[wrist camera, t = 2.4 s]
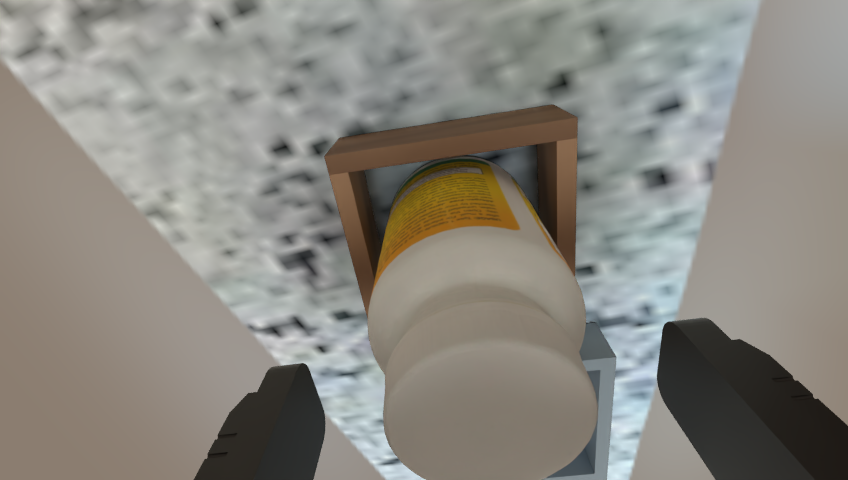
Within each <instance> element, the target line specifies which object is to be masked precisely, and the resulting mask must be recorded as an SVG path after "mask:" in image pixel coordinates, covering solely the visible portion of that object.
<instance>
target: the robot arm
mask: <svg viewBox="0 0 848 480" xmlns="http://www.w3.org/2000/svg"><path fill="white" fill-rule="evenodd" d="M657 381H658V387H659V390H660V393H661V396H662V398H663V401H664V402H665V404H666V406H667V407H668V409H669V410H670V412H671V413H672V415H673V416H674V418H675V419H676V421H677V422H678V424H679V425H680V427H681V428H682V430H683V431H684V433H685V434H686V436H687V437H688V439H689V440H690V442H691V443H692V445H693V446H694V448H695V449H696V451H697V452H698V454H699V455H700V457H701V458H702V460H703V461H704V463H705V464H706V466H707V467H708V469H709V470H710V472H711V473H712V475H713V476H714V478H715V479H716V480H848V426H847V425H846V424H845V423H844V422H843V421H842V420H841V419H840V418H839V417H837V416H836V415H835V414H834V413H833V412H832V411H831V410H830V409H829V408H828V407H826V406H825V405H824V404H823V403H822V402H821V401H820V400H819V399H814V398H813V394H812V393H811V392H810V391H808V389H806V388H805V387H804V386H803V385H802V384H801V383H800V382H799V381H795V380H794V379H793V376H792V375H791V374H790V373H789V372H788V371H787V370H785V369H784V368H783V367H782V366H781V365H780V364H779V363H778V362H777V361H775V360H774V359H773V358H772V357H771V356H770V355H768V354H766V353H764V352H763V351H761V350H759V349H757V348H755V347H753V346H752V345H750V344H748V343H746V342H744V341H742V340H740V339H738V340H731V339H730V338H729V337H728V336H727V335H726V334H725V333H724V332H723V331H722V330H721V329H719V327H718V326H716V325H715V324H714V323H713V322H712V321H711V320H709V319H707V318H698V319H690V320H680V321H672V322H667V323H666V324H665V325H664V327H663V332H662V340H661V348H660V356H659V364H658V372H657ZM324 434H325V414H324V410H323V407H322V404H321V401H320V398H319V396H318V393H317V390H316V387H315V385H314V382H313V379H312V376H311V373H310V371H309V368H308V366H307V365H306V364H304V363H301V364H293V365H284V366H276V367H271V368H270V369H269V370H268V371H267V373H266V375H265V378H264V379H263V381H262V383H261V385H260V387H259V389H258V392H254V393H248V394H247V395H246V396H245V397H244V398H243V399H242V400H241V402H239V404H238V405H237V406H236V407H235V408H234V409H233V410H232V411H231V412H230V413H229V415H228V417H227V419H226V421H225V423H224V424H223V426H222V428H221V430H220V432H219V434H218V439H217V440H215V441H214V443H213V445H212V447H211V448H210V450H209V452H208V458H207V459H205V460H204V462H203V464H202V465H201V467H200V469H199V471H198V473H197V475H196V477H195V479H194V480H313V479H314V475H315V471H316V467H317V463H318V459H319V456H320V452H321V448H322V444H323V440H324Z"/></svg>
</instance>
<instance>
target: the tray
mask: <svg viewBox="0 0 848 480" xmlns="http://www.w3.org/2000/svg"><path fill="white" fill-rule="evenodd" d="M579 353H580V356H581V360H582V362H583V364H584V366H585V369H586V371H587V373H588V375H589V377H590V380H591V382H592V384H593V387H594V390H595V393H596V398H597V403H598V419H597V423H596V427H595V429H594V432H593V434H592V437H591V439H590V441H589V442H588V444H587V445H586V447H585V448H584V449H583V451H582V452H581V453H580V454H579V455H578V456H577V457H576V458H575V459H574V460H573V461H572V462H571V463H569V464H568V465H567V466H565V467H564V468H562V469H560V470H559V471H557V472H555V473H554V474H552V475H550V476H548V477H546V478H544V479H542V480H607V470H608V457H609V445H610V432H611V419H612V406H613V394H614V381H615V368H616V356H615V354H614V352H613V351H612V349H611V347H610V346H609V344H608V342H607V340H606V339H605V337H604V335H603V334H602V332H601V330H600V329H599V327H598V325H597V324H596V323H587V324H586V327H585V334H584V338H583V342H582V345H581V348H580V351H579Z"/></svg>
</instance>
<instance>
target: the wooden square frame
mask: <svg viewBox="0 0 848 480" xmlns="http://www.w3.org/2000/svg"><path fill="white" fill-rule="evenodd" d="M577 120H578V118H577V117H575V116H574V115H572V114H570V113H568V112H566V111H564V110H562V109H561V108H559V107H557V106H555V105H547V106H541V107H535V108H528V109H522V110H515V111H509V112H502V113H496V114H490V115H483V116H477V117H470V118H464V119H458V120H451V121H445V122H438V123H432V124H425V125H419V126H413V127H406V128H400V129H393V130H387V131H381V132H374V133H368V134H361V135H355V136H349V137H342V138H339V139H338V140H337V142H336V143H335V144H334V145H333V147H332V148H331V149H330V150H329V151H328V153H327V154H326V155H325V156H324V157H325V161H326V165H327V168H328V172H329V176H330V180H331V183H332V187H333V191H334V195H335V198H336V202H337V206H338V210H339V213H340V217H341V221H342V225H343V228H344V232H345V236H346V240H347V243H348V247H349V251H350V254H351V258H352V262H353V266H354V269H355V273H356V277H357V281H358V284H359V288H360V292H361V296H362V299H363V303H364V307H365V311H366V314H367V318H368V311H369V305H370V300H371V295H372V291H373V286H374V281H375V277H376V272H377V268H378V263H379V258H380V254H381V249H382V248H381V244H380V239H379V235H378V231H377V226H376V222H375V217H374V213H373V208H372V204H371V200H370V195H369V191H368V186H367V182H366V178H365V173H364V170H367V169H374V168H381V167H387V166H394V165H401V164H408V163H414V162H421V161H428V160H434V159H441V158H448V157H454V156H461V155H468V154H474V153H481V152H488V151H494V150H501V149H508V148H515V147H521V146H528V145H535V144H537V165H538V201H539V218H540V220H541V222H542V223H543V225H544V227H545V228H546V230H547V231H548V233H549V234H550V236H551V238H552V239H553V241H554V243H555V244H556V246H557V248H558V249H559V251H560V253H561V254H562V256H563V258H564V259H565V261H566V262H567V264H568V266H569V267H570V269H571V271H572V273H573V275H574V277H575V242H576V181H577Z"/></svg>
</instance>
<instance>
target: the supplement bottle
mask: <svg viewBox="0 0 848 480" xmlns="http://www.w3.org/2000/svg"><path fill="white" fill-rule="evenodd" d="M585 327H586V313H585V304H584V300H583V296H582V293H581V289H580V287H579V285H578V283H577V280H576V279H575V277H574V275H573V273H572V271H571V269H570V267H569V266H568V264H567V262H566V261H565V259H564V258H563V256H562V254H561V253H560V251H559V249H558V248H557V246H556V244H555V243H554V241H553V239H552V238H551V236H550V234H549V233H548V231H547V230H546V228H545V227H544V225H543V223H542V222H541V220H540V218H539V217H538V215H537V213H536V212H535V210H534V208H533V206H532V204H531V203H530V201H529V200H528V198H527V197H526V195H525V193H524V192H523V190H522V189H521V187H520V186H519V185H518V183H517V182H516V181H515V179H514V178H513V177H512V176H511V175H510V174H509V173H508V172H506V171H505V170H504V169H502V168H501V167H499V166H498V165H496V164H494V163H492V162H489V161H487V160H484V159H481V158H477V157H470V156H459V157H450V158H444V159H440V160H437V161H434V162H431V163H429V164H427V165H425V166H423V167H421V168H420V169H418V170H417V171H415V172H414V173H413V174H412V175H411V176H410V177H408V178H407V180H406V181H405V182H404V183H403V184H402V185H401V187H400V189H399V190H398V192H397V194H396V196H395V197H394V200H393V203H392V206H391V209H390V213H389V218H388V222H387V226H386V230H385V235H384V240H383V245H382V249H381V254H380V258H379V263H378V268H377V272H376V277H375V281H374V286H373V291H372V295H371V300H370V305H369V311H368V334H369V341H370V345H371V348H372V351H373V354H374V356H375V358H376V361H377V363H378V364H379V366H380V368H381V370H382V371H383V372H384V374H385V398H384V411H383V419H384V430H385V435H386V438H387V440H388V443H389V445H390V447H391V449H392V450H393V452H394V454H395V455H396V456H397V457H398V458H399V460H400V461H401V462H402V463H403V464H404V465H405V466H406V467H408V468H409V469H410V470H411V471H413V472H414V473H416V474H417V475H419V476H420V477H422V478H424V479H426V480H542V479H544V478H546V477H548V476H550V475H552V474H554V473H555V472H557V471H559V470H560V469H562V468H564V467H565V466H567V465H568V464H569V463H571V462H572V461H573V460H574V459H575V458H576V457H577V456H578V455H579V454H580V453H581V452H582V451H583V449H584V448H585V447H586V445H587V444H588V442H589V441H590V439H591V437H592V434H593V432H594V429H595V427H596V423H597V419H598V403H597V398H596V393H595V390H594V387H593V384H592V382H591V380H590V377H589V375H588V373H587V371H586V369H585V366H584V364H583V362H582V360H581V356H580V353H579V351H580V348H581V345H582V342H583V338H584V334H585Z"/></svg>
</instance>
